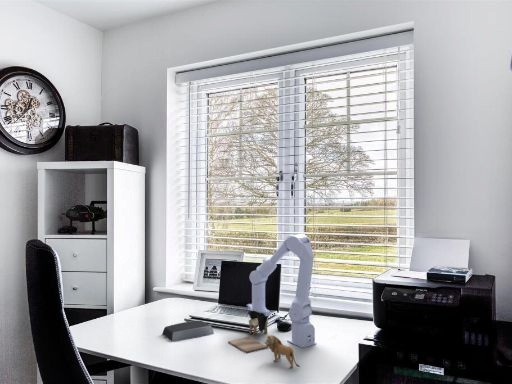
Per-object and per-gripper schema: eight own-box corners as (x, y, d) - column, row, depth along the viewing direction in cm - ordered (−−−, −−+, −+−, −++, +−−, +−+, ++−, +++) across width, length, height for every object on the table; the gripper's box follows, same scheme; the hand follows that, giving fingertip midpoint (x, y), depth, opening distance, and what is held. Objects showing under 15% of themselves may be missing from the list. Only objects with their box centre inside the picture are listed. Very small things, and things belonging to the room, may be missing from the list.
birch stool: (267, 333, 189) (267, 319, 189) (254, 336, 185) (254, 322, 185) (262, 330, 192) (262, 317, 192) (249, 333, 189) (249, 319, 189)
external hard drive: (214, 335, 188) (214, 325, 188) (172, 343, 177) (172, 333, 177) (201, 327, 199) (201, 318, 199) (161, 334, 188) (161, 325, 188)
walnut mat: (267, 348, 171) (267, 346, 171) (246, 353, 165) (246, 351, 165) (248, 338, 182) (248, 336, 182) (228, 342, 177) (228, 341, 177)
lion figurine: (262, 360, 158) (262, 335, 158) (271, 356, 162) (271, 332, 162) (295, 370, 149) (295, 344, 149) (304, 366, 153) (304, 340, 153)
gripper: (242, 295, 193) (241, 326, 192) (260, 302, 181) (260, 334, 180) (255, 293, 197) (255, 323, 196) (273, 300, 184) (273, 331, 184)
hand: (258, 328), depth 189 cm, fingers closed on birch stool, 4 cm apart
